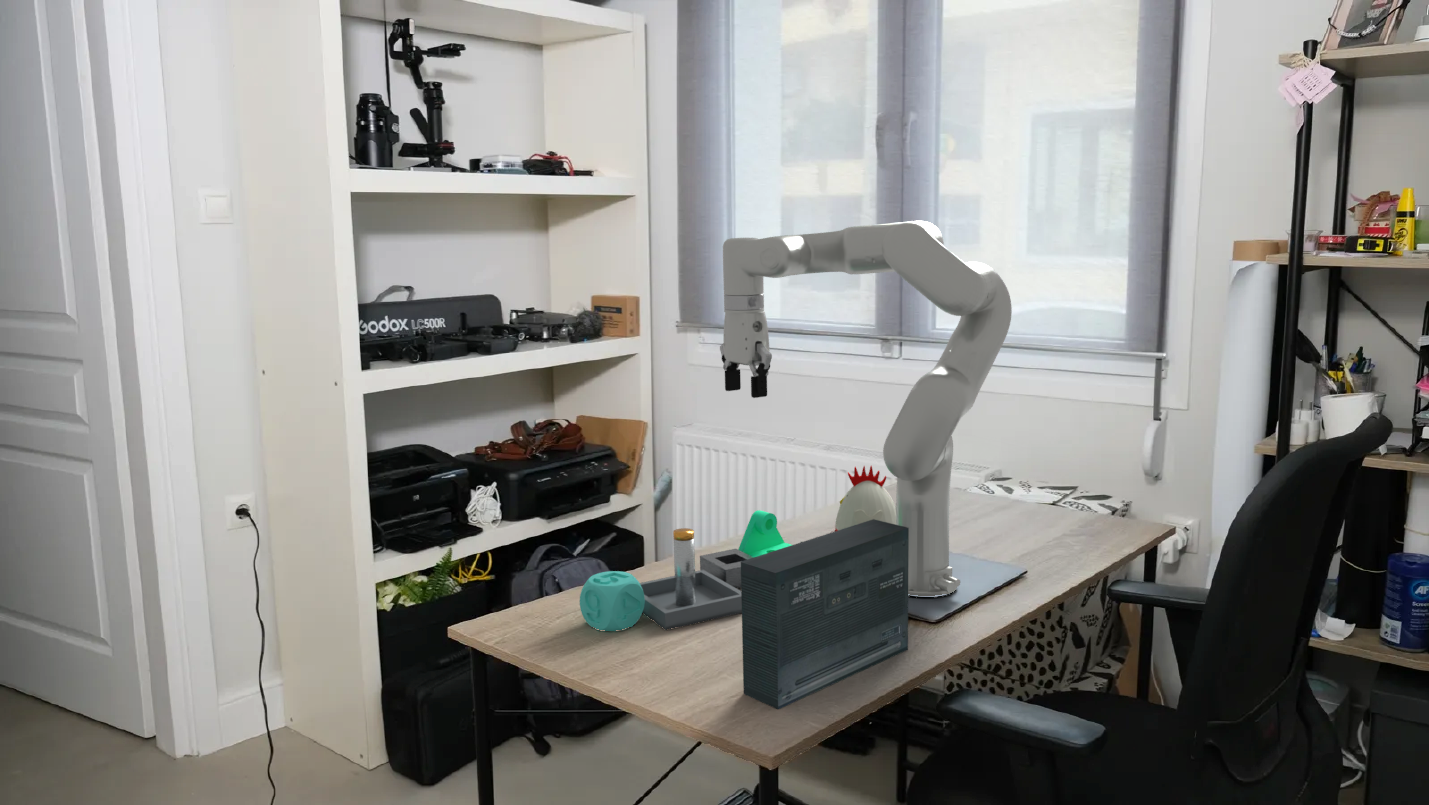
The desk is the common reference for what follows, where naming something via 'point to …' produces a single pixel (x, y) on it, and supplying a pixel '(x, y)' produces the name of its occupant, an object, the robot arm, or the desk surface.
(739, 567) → the block
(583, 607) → the decorative dice
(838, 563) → the cassette player
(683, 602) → the pin
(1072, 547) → the desk surface
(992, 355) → the robot arm
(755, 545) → the green mounting bracket
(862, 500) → the kitchen timer
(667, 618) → the tray
